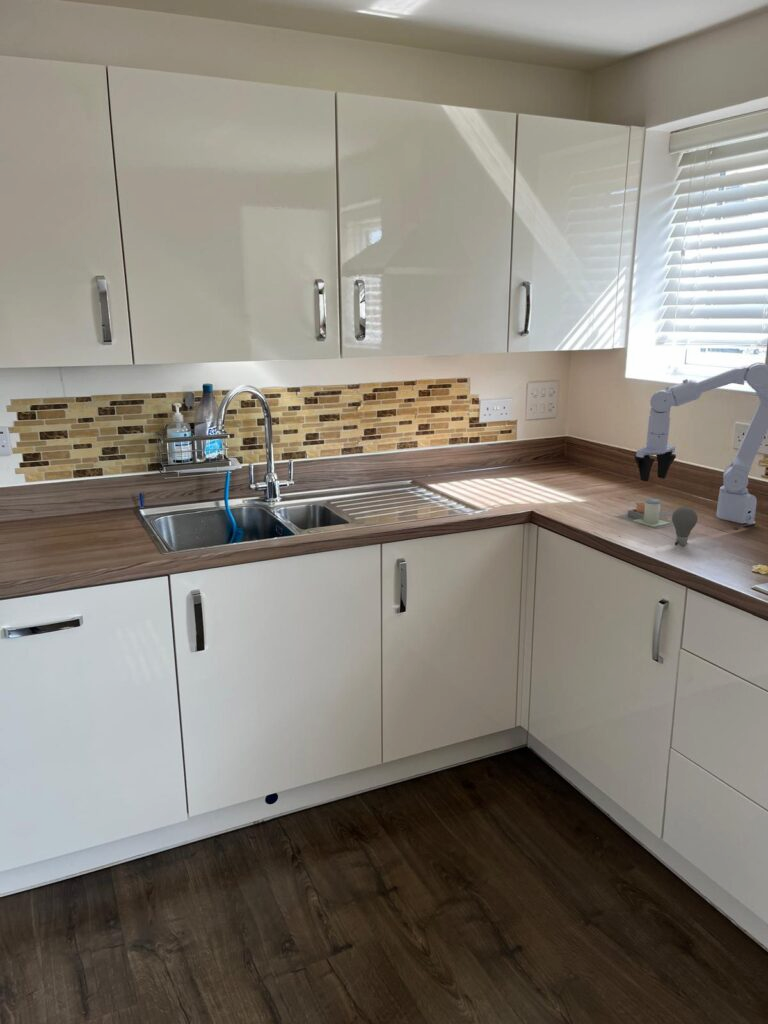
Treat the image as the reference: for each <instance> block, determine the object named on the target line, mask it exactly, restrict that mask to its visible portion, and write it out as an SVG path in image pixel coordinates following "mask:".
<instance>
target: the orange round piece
mask: <svg viewBox="0 0 768 1024" xmlns="http://www.w3.org/2000/svg"><path fill="white" fill-rule="evenodd" d="M635 509H636V512H638V513H642V514H644V509H645V502H638V503H636V508H635Z"/></svg>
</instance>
